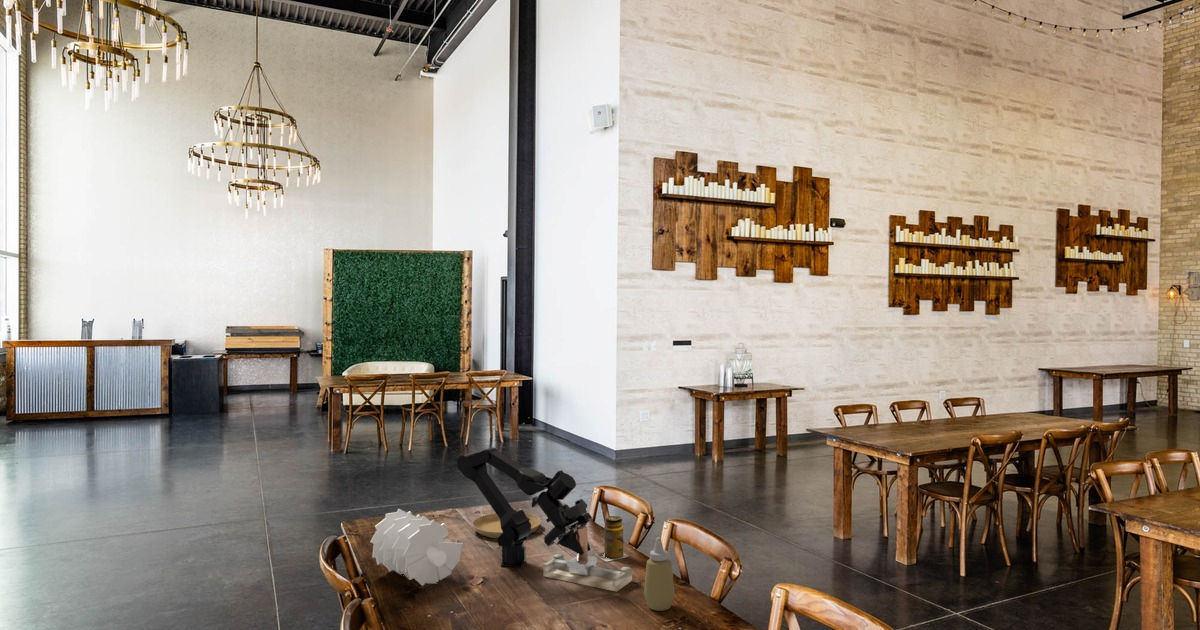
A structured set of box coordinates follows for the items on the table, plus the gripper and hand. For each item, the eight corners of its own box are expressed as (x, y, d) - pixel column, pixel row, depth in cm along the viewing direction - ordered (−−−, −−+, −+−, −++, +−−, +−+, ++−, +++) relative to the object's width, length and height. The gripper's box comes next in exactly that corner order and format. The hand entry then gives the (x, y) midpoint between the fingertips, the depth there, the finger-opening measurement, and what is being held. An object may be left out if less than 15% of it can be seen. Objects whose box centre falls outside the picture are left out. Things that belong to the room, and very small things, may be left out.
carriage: (567, 573, 208) (566, 529, 208) (579, 565, 214) (579, 523, 214) (585, 577, 205) (584, 532, 205) (597, 569, 211) (596, 525, 211)
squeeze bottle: (641, 601, 192) (641, 533, 192) (671, 599, 193) (671, 532, 192) (646, 614, 184) (645, 543, 184) (677, 612, 185) (676, 542, 184)
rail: (541, 575, 211) (541, 562, 211) (557, 565, 219) (557, 553, 219) (619, 592, 198) (619, 578, 198) (634, 581, 206) (634, 567, 206)
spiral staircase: (426, 605, 201) (379, 578, 218) (473, 562, 212) (424, 540, 229) (402, 554, 194) (355, 530, 211) (451, 513, 206) (403, 494, 223)
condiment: (629, 556, 226) (628, 518, 226) (606, 562, 222) (606, 523, 221) (615, 550, 232) (615, 513, 232) (593, 555, 228) (593, 517, 228)
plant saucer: (549, 522, 264) (549, 513, 264) (528, 543, 241) (528, 533, 241) (487, 519, 269) (487, 510, 269) (461, 539, 246) (461, 529, 246)
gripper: (552, 500, 203) (586, 545, 197) (586, 485, 219) (618, 526, 214) (529, 524, 207) (562, 568, 201) (564, 507, 223) (595, 549, 218)
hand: (586, 552), depth 208 cm, fingers closed on carriage, 3 cm apart
